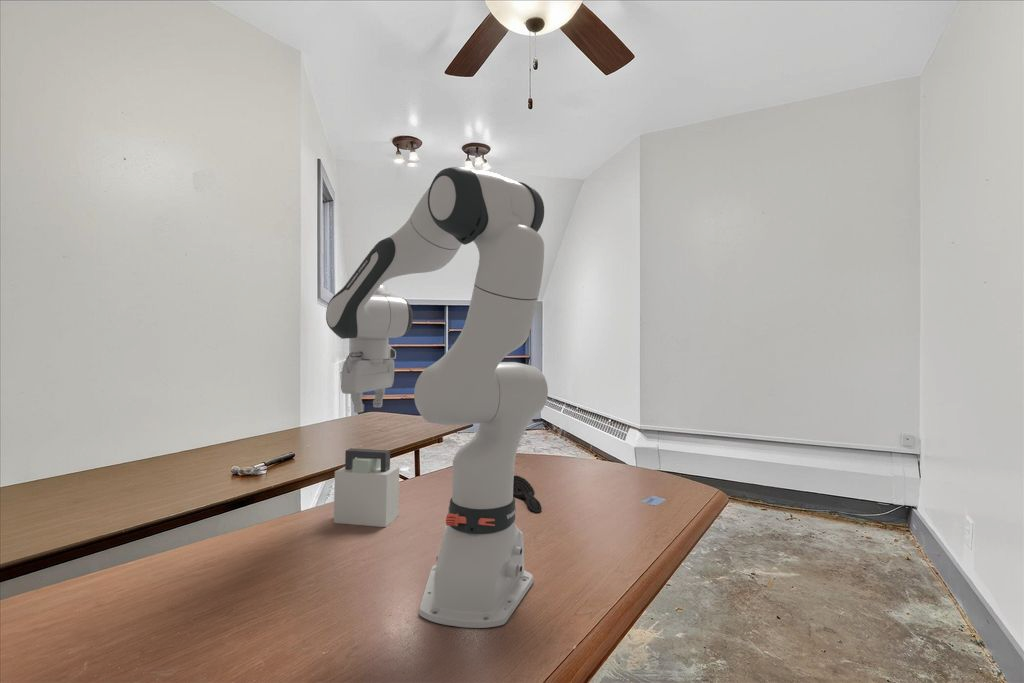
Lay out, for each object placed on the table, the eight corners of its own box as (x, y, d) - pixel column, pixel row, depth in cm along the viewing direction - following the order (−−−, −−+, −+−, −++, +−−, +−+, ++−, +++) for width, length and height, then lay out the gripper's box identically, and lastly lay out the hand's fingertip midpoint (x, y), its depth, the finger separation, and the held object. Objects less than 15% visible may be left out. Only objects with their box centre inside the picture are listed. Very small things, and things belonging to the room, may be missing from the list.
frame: (389, 469, 113) (390, 450, 113) (385, 471, 111) (385, 452, 111) (350, 466, 115) (350, 448, 115) (345, 469, 112) (345, 450, 112)
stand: (398, 516, 115) (399, 454, 115) (385, 527, 108) (387, 461, 108) (349, 512, 117) (350, 452, 117) (333, 522, 110) (334, 458, 110)
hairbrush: (522, 505, 117) (500, 473, 142) (521, 519, 118) (500, 485, 142) (553, 503, 119) (527, 472, 144) (553, 517, 120) (526, 484, 144)
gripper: (360, 352, 102) (359, 416, 102) (399, 351, 122) (398, 405, 122) (333, 352, 103) (332, 415, 103) (376, 351, 123) (375, 404, 123)
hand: (368, 409), depth 113 cm, fingers open, 8 cm apart
